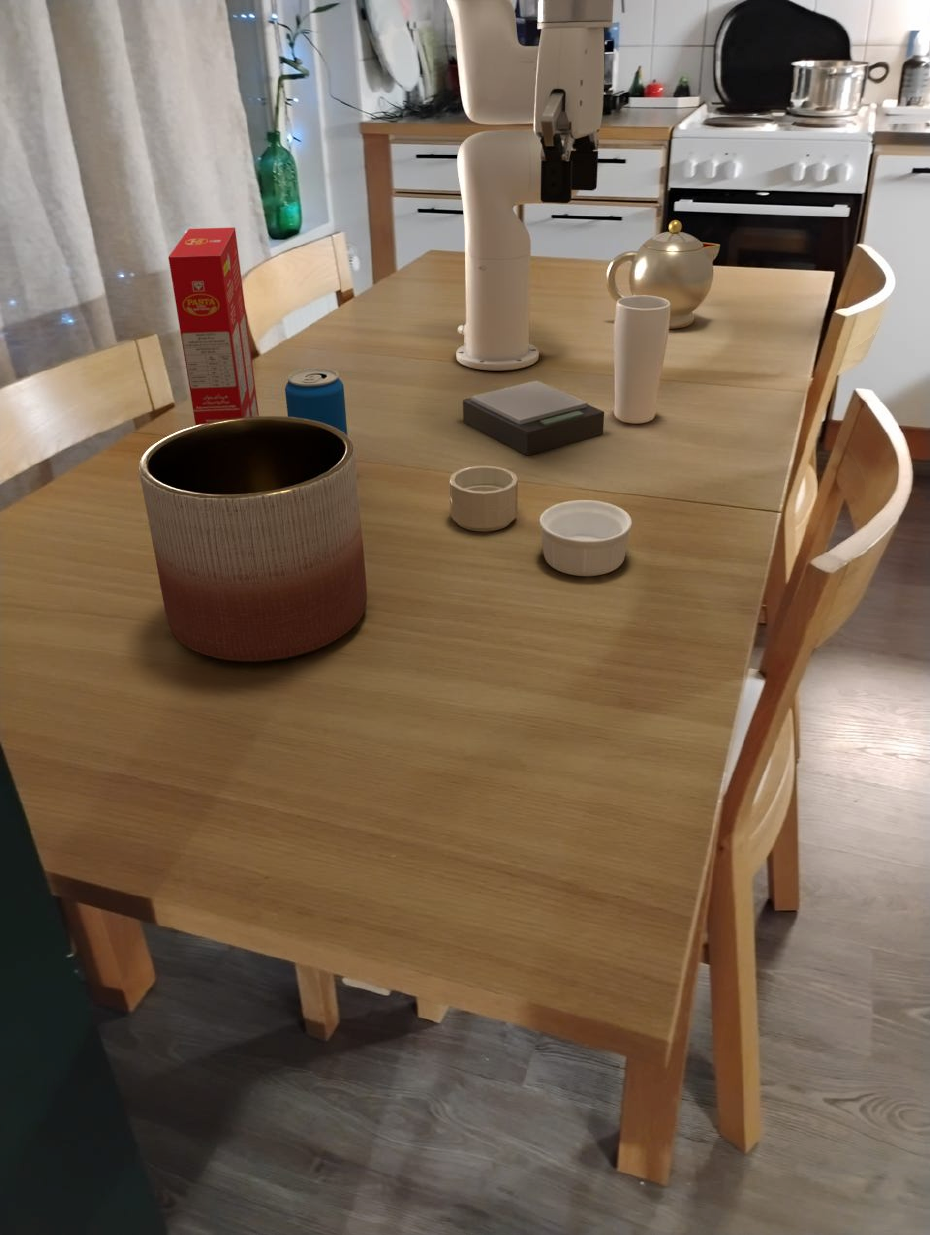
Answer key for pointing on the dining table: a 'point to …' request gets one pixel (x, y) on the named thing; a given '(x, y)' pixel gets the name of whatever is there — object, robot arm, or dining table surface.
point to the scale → (533, 417)
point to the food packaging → (213, 324)
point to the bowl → (483, 497)
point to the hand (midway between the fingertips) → (569, 195)
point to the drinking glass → (639, 355)
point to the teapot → (669, 272)
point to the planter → (256, 536)
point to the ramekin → (585, 537)
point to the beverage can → (317, 397)
